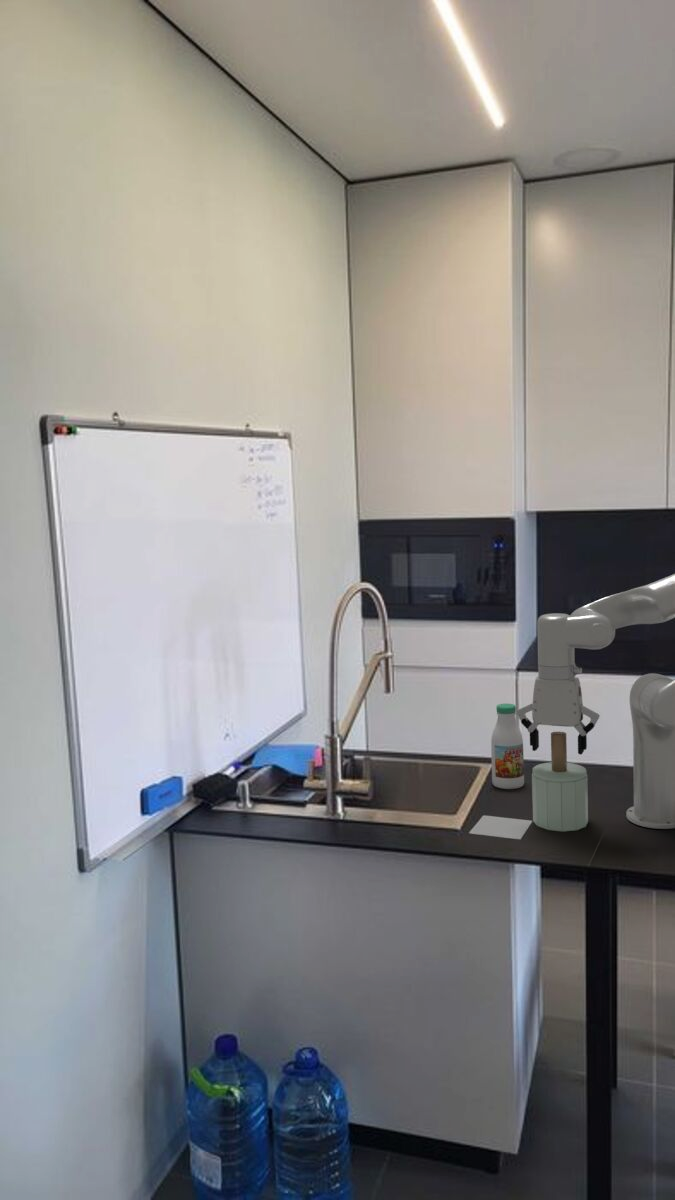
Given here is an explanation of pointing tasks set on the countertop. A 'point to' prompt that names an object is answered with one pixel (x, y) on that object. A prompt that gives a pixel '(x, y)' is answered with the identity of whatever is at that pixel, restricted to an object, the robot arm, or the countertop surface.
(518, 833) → the mat
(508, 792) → the countertop surface
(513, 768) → the milk bottle
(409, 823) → the countertop surface
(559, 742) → the cylinder with wooden dowel
